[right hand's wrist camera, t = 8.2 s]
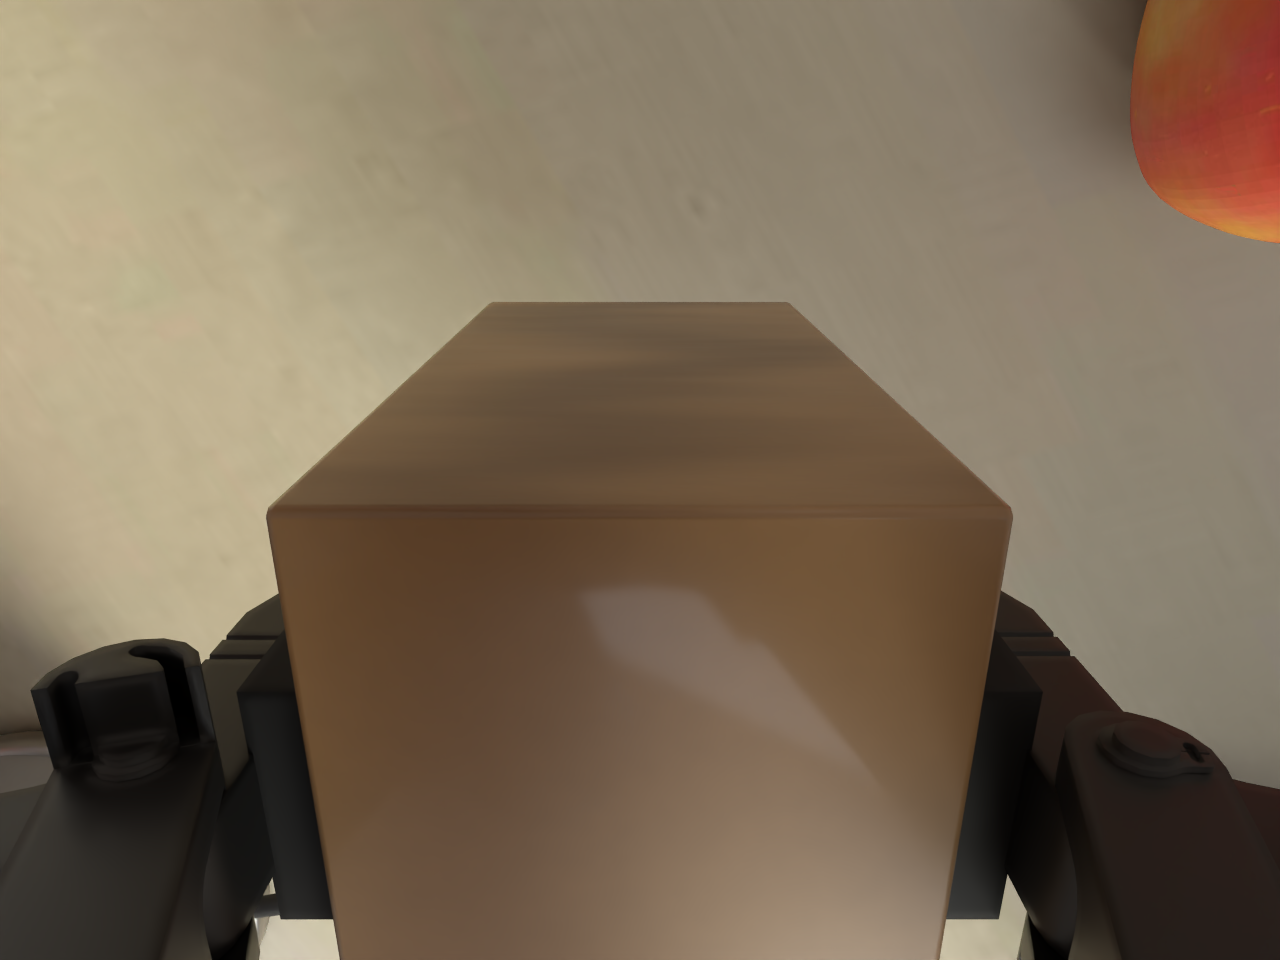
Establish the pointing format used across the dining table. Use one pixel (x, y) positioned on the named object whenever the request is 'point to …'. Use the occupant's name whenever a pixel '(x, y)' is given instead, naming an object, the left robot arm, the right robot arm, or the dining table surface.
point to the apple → (1211, 111)
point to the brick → (639, 646)
